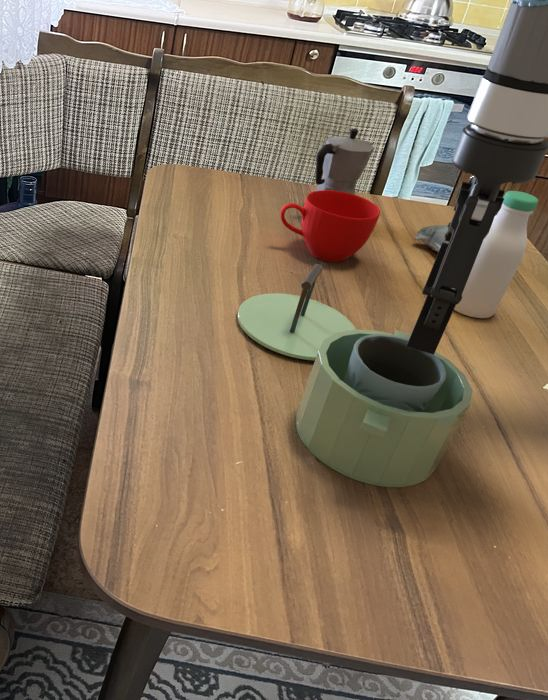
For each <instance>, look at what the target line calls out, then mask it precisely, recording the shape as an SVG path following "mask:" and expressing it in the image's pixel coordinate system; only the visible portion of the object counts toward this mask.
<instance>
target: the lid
mask: <svg viewBox="0 0 548 700" xmlns="http://www.w3.org/2000/svg"><path fill="white" fill-rule="evenodd" d="M322 271H323V266H322V265H321V264H320V263H315V264H313V266H312V268H311V269H310V271H309V272H308V273H307V275H306V277H305V278H304V280H303V281H302V283H301V285H300V286H301V289H302V290H301V293H300V295H296V294H290V293H279V292H277V293H276V292H275V293H274V292H273V293H272V292H271V293H262V294H257V295H254V296H251V297H249V298H247V299H245V300H244V301H243V302H241V304H240V306H239V308H238V311H237V321H238V324H239V327H240V328H241V329H242V330H243V332H244V333H245V334H246V335H247V336H248V337H249V338H251V339H252V340H253V341H254V342H256V343H257V344H259V345H261V346H262V347H264V348H266V349H269V350H270V351H273V352H275V353H278V354H281V355H284V356H287V357H291V358H295V359H299V360H300V359H301V360H303V361H304V360H306V361H314V362H315V359H316V356H317V353H318V351H319V349H320V347H321V345H322V343H323V341H324V340H325V339H327V338H328V337H330V336H332V335H334V334H336V333H338V332H344V331H350V330H357V328H356V327H355V325H354V324H353V322H352V321H351V320H349V318H347V317H346V316H345V315H344V314H343V313H342V312H340V311H338V310H337V309H335V308H333V307H332V306H329V305H327V304H325V303H323V302H320V301H318V300H315V299H311V297H312V294H313V292H314V288H315V285H316V282H317V279H318V277H319V276H320V274H321V272H322Z"/></svg>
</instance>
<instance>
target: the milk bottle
mask: <svg viewBox="0 0 548 700" xmlns="http://www.w3.org/2000/svg"><path fill="white" fill-rule="evenodd" d="M502 198H504V201H503V204H502V206H501V209H500V211H499V212H498V214H497V215H496V216H495V217H494V220H493V223H492V225H491V228H490V231H489V233H488V235H487V236H486V237H485V238H484V240H483V242H482V245H481V247H480V250H479V252H478V255H477V258H476V260H475V263H474V265H473V268H472V270H471V273H470V275H469V278H468V280H467V283H466V285H465V288H464V291H463V293H462V299H461V302H459V304H456V306H455V308H454V310H453V311H455V312H458V313H459V314H461V315H463V316H464V315H465V316H467V317H471V318H476V319H488V318H491V317H492V316H494V315H495V313H496V311H497V309H498V308H499V306H500V304H501V302H502V300H503V298H504V296H505V294H506V292H507V290H508V288H509V286H510V284H511V282H512V280H513V278H514V276H515V274H516V272H517V270H518V268H519V266H520V264H521V262H522V260H523V258H524V255H525V253H526V249H527V244H528V223H529V222H528V221H529V218H530V216H531V215H533V214H534V210H535V209H536V208H537V206H538V204H539V199H538V198H537V197H536V196H534V195H533V194H530V193H527V192H523V191H520V190H519V191H518V190H508V191H505V193H504V195H503V197H502ZM452 289H454V288H452Z"/></svg>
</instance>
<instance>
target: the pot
mask: <svg viewBox="0 0 548 700" xmlns="http://www.w3.org/2000/svg"><path fill="white" fill-rule="evenodd" d="M373 334H385V335H392V336H397V337H401V338H404V339H407V340H409V339H410V336H411V334H412V333H408V332H404V331H401V330H398V329H394V332H393V333H389V332H385V331H381V330H371V329H357V328H356V330H350V331H344V332H338V333H336V334H334V335H332V336H330V337H328V338H327V339H325V340H324V341H323V343H322V345H321V347H320V349H319V351H318V353H317V356H316V359H315V361H314V363H313V365H312V368H311V371H310V374H309V377H308V379H307V383H306V386H305V388H304V391H303V394H302V397H301V399H300V403H299V405H298V408H297V410H296V416H295V426H296V427H295V428H296V431H297V434H298V436H299V438H300V440H301V441H302V443H303V444H304V446H305V447H306V448H307V449H308V451H309V452H310V453H311V454H312V455H313V456H314V457H315V458H317V460H319V461H320V462H322V463H323V464H324V465H326V466H328V468H330V469H332V470H334V471H336V472H337V473H339V474H341V475H343V476H345V477H347V478H350V479H352V480H355V481H358V482H360V483H364V484H367V485H371V486H376V487H383V488H406V487H412V486H416V485H418V484H421V483H423V482H424V481H427V479H429V478H430V477H431V476H432V475H433V473H434V472H435V471H436V470H437V468H438V467H439V464H440V463H441V461H442V460H443V457H444V455H445V453H446V452H447V450H448V448H449V446H450V444H451V442H452V440H453V439H454V436H455V434H456V433H457V430H458V428H459V427H460V425H461V423H462V421H463V419H464V418H465V416H466V414H467V411H468V409H469V408H470V406H471V404H472V399H473V397H472V396H473V388H472V386H471V384H470V382H469V380H468V378H467V377H466V374H465V373H464V372H463V371H462V370H461V369H460V368H458V367H457V366H456V364H454V363H453V362H452V361H451V360H450V359H448V358H447V357H445V356H444V355H442V354H440V353H438V352H437V351H435V353H434V355H435V356H437V357H438V358H439V360H440V361H441V362H442V364H443V365H444V368H445V371H446V379H445V381H444V382H443V384H442V385H441V387H440V389H439V390H438V392H437V393H436V394H435V396H434V398H433V399H432V401H431V402H430V404H429V406H428V407H427V408H426V410H425V411H424V412H412V411H406V410H402V409H398V408H394V407H390V406H387V405H383V404H381V403H379V402H377V401H374V400H372V399H370V398H368V397H366V396H364V395H362V394H359V393H358V392H356V391H355V390H354V389H352V388H351V387H350V386H348V385H347V384H346V383H344V379H345V376H346V373H347V370H348V365H349V361H350V357H351V354H352V351H353V348H354V345H355V343H356V341H357V340H359V339H360V338H362V337H364V336H367V335H373Z"/></svg>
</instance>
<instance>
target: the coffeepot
mask: <svg viewBox="0 0 548 700" xmlns="http://www.w3.org/2000/svg"><path fill="white" fill-rule="evenodd" d="M359 131H360V130H358V129H356V128H350V129H349V136H331V137H329V138H328V139H326V140H325V144H323V145H322V147H321V148H320V149H319V150H318V151H317V153H316V157H315V158H316V159H315V180H314V183H315V184H316V185H317V187H316V189H315V191H319V190H332V191H340V192H345V193H350V194H353V195H356V188H355V187H356V185H357V182H358V181H359V180H360V179H361V176H362V174H363V173H364V170H365V168H366V166H367V164H368V162H369V160H370V158H371V156H372V155H373V153H374V150H375V147H374V146H373V145H374V143H373V142H369V141H368V140H365V139H359V138H356V137H357V136H358V133H359Z"/></svg>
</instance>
